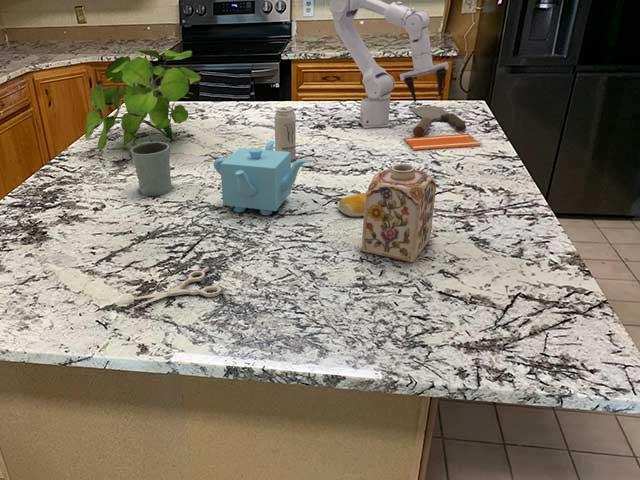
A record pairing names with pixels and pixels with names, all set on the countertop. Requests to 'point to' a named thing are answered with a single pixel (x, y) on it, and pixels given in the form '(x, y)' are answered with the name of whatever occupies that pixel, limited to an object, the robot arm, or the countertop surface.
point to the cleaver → (440, 116)
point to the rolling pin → (422, 127)
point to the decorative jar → (398, 213)
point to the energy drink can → (285, 131)
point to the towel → (441, 142)
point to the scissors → (180, 291)
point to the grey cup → (152, 167)
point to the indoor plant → (141, 96)
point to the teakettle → (257, 178)
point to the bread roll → (353, 205)
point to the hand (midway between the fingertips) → (427, 98)
